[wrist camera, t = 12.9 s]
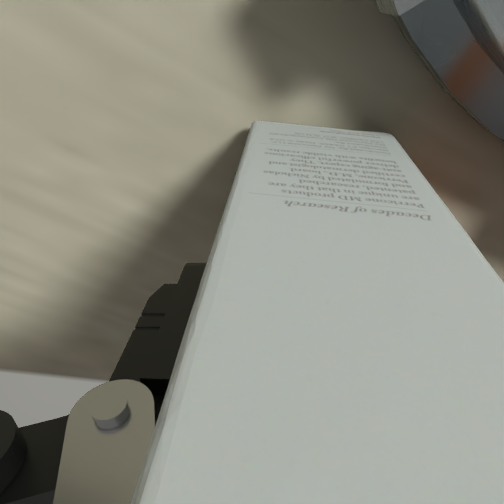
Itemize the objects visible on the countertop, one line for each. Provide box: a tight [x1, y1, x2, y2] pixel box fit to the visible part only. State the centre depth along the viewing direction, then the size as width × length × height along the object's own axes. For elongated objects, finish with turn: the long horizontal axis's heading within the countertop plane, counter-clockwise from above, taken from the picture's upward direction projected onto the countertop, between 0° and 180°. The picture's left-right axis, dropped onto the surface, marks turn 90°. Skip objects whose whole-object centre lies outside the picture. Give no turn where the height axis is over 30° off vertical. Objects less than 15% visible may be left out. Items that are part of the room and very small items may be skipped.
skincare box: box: [131, 121, 504, 504], centre depth 9 cm, size 6×4×12 cm
